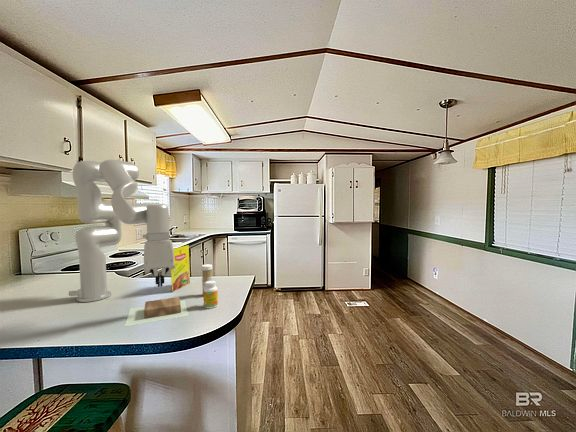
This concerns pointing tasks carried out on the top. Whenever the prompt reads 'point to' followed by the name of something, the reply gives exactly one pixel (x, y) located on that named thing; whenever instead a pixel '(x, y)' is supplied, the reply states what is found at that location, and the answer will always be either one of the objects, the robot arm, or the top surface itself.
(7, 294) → the top surface
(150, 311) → the walnut plank
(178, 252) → the food package
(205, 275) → the sprinkles bottle
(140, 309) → the mat
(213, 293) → the supplement bottle
